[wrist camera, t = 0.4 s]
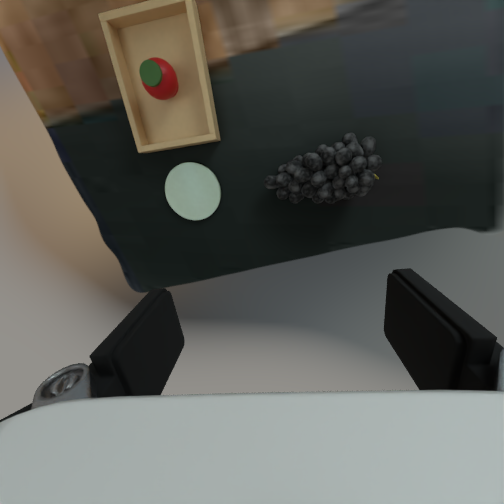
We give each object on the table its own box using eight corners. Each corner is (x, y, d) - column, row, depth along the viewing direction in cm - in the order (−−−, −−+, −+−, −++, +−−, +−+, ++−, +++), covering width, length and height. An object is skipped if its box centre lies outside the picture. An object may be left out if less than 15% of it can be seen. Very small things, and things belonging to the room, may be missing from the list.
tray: (112, 25, 31) (97, 13, 29) (196, 4, 30) (189, -11, 27) (147, 153, 37) (138, 152, 34) (220, 140, 35) (216, 139, 33)
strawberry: (148, 69, 32) (126, 54, 27) (179, 62, 32) (162, 45, 27) (157, 106, 34) (138, 98, 29) (187, 100, 33) (172, 91, 28)
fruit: (262, 206, 29) (395, 190, 27) (256, 137, 29) (389, 115, 26) (268, 214, 38) (369, 202, 35) (263, 161, 37) (364, 145, 35)
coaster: (159, 166, 37) (157, 166, 37) (215, 157, 36) (214, 157, 36) (174, 222, 40) (173, 223, 40) (225, 216, 39) (225, 216, 39)
